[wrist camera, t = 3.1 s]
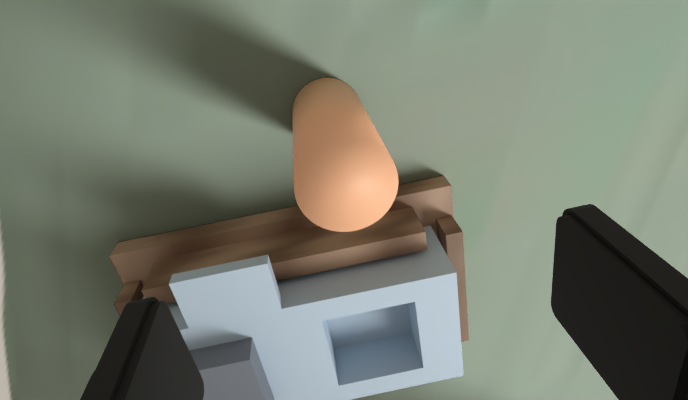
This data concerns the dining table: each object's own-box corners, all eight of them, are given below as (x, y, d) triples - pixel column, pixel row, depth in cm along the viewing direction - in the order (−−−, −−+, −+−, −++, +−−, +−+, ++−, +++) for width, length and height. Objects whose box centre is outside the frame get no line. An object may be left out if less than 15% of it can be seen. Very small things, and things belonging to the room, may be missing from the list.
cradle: (443, 175, 29) (468, 208, 25) (455, 326, 35) (476, 372, 31) (117, 242, 28) (89, 287, 24) (186, 383, 34) (172, 437, 30)
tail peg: (355, 71, 25) (391, 126, 16) (366, 138, 27) (403, 220, 18) (285, 85, 25) (282, 148, 16) (300, 151, 27) (306, 240, 18)
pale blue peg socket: (426, 183, 27) (464, 242, 21) (442, 349, 34) (474, 429, 28) (130, 244, 27) (86, 320, 21) (204, 399, 33) (186, 491, 27)
